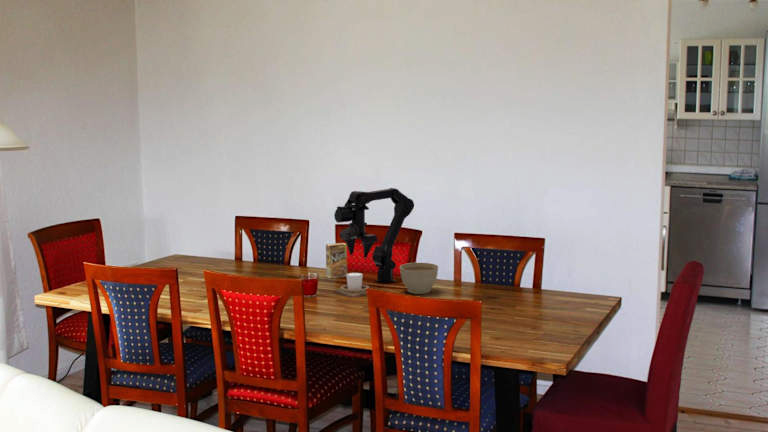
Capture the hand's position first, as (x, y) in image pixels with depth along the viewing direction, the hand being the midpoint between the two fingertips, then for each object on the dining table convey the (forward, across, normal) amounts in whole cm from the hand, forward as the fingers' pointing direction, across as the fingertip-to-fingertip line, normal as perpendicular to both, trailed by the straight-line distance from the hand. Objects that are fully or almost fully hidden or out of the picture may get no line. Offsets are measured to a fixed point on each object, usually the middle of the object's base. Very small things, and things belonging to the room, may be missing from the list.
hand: (358, 256), depth 353 cm
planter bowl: (+13, +26, +11) cm, 31 cm away
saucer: (+13, +9, -10) cm, 19 cm away
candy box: (+13, -20, +4) cm, 24 cm away
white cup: (+12, +9, -10) cm, 18 cm away
